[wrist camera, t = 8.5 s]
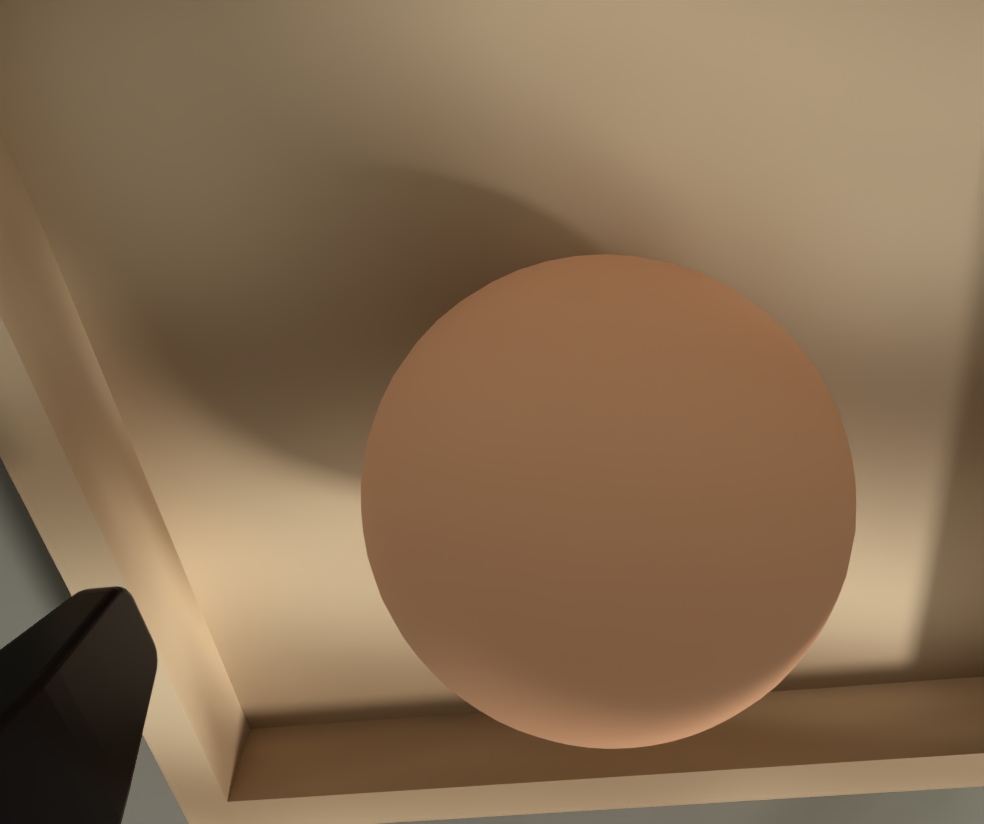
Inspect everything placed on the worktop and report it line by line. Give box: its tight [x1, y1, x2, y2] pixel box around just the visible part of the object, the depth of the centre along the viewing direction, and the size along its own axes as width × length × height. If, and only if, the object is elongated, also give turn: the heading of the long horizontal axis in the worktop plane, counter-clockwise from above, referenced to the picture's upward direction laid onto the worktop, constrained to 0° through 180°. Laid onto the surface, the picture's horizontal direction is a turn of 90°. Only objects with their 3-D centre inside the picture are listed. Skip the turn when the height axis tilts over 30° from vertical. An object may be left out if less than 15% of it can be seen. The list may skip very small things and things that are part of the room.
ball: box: [361, 254, 856, 749], centre depth 9 cm, size 5×5×5 cm
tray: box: [0, 0, 984, 824], centre depth 11 cm, size 14×14×2 cm
